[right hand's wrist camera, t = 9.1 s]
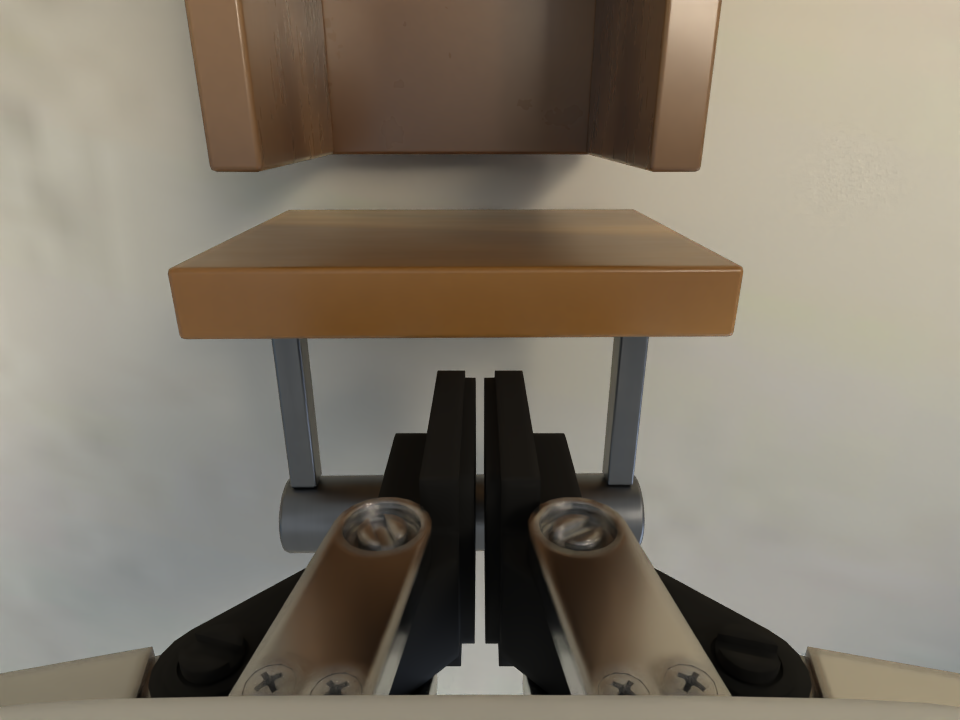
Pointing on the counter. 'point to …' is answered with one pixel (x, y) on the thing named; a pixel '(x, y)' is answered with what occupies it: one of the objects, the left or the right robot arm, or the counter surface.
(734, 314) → the drawer
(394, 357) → the counter surface
